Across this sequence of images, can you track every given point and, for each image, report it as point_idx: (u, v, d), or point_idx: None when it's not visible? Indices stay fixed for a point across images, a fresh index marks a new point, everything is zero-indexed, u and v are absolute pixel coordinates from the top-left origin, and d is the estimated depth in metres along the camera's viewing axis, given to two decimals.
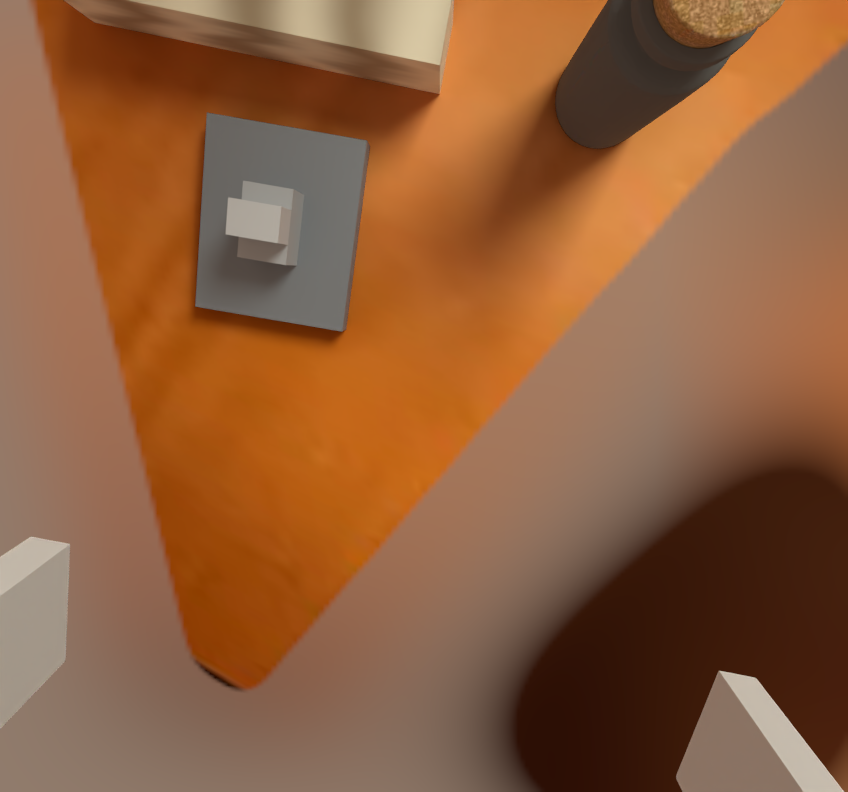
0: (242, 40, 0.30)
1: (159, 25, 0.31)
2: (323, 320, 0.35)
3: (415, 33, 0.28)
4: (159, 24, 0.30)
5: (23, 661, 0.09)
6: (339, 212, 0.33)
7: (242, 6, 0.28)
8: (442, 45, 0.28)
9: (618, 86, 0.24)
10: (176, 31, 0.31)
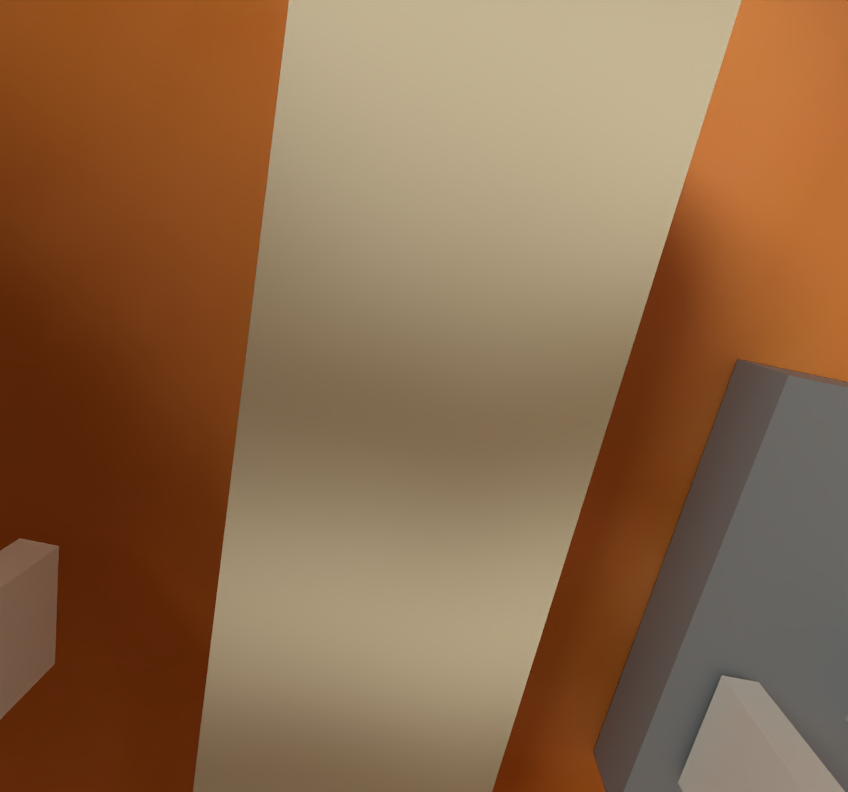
0: None
1: None
2: None
3: (573, 88, 0.05)
4: None
5: (11, 664, 0.09)
6: None
7: None
8: None
9: None
10: None
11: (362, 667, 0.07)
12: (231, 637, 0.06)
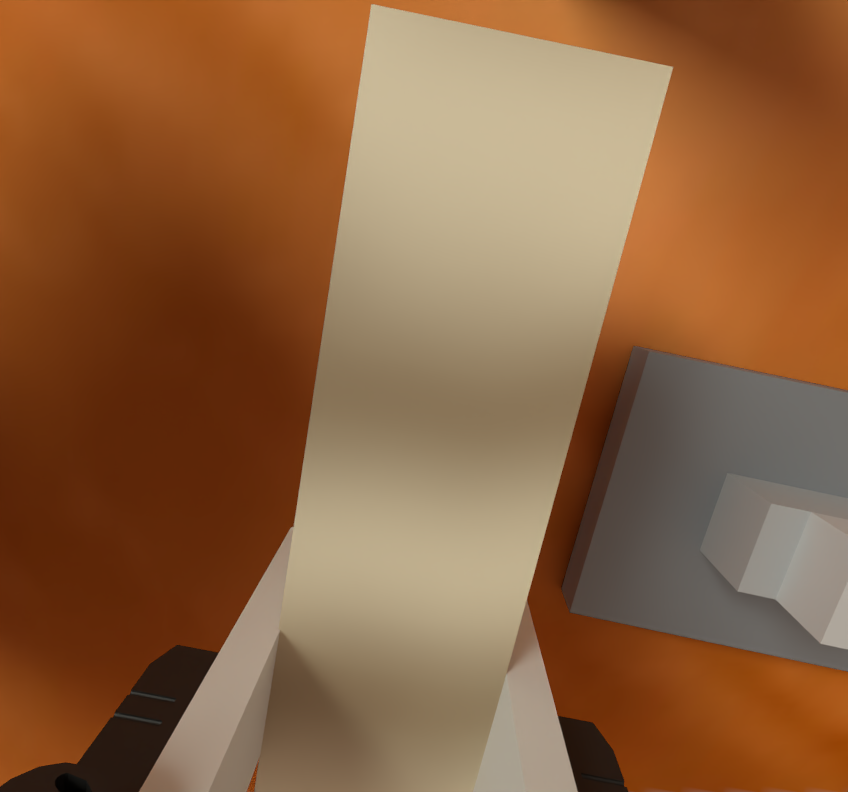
0: None
1: None
2: None
3: (547, 174, 0.07)
4: None
5: None
6: (770, 411, 0.17)
7: (441, 733, 0.09)
8: (599, 56, 0.07)
9: None
10: None
11: (398, 597, 0.09)
12: (301, 573, 0.09)
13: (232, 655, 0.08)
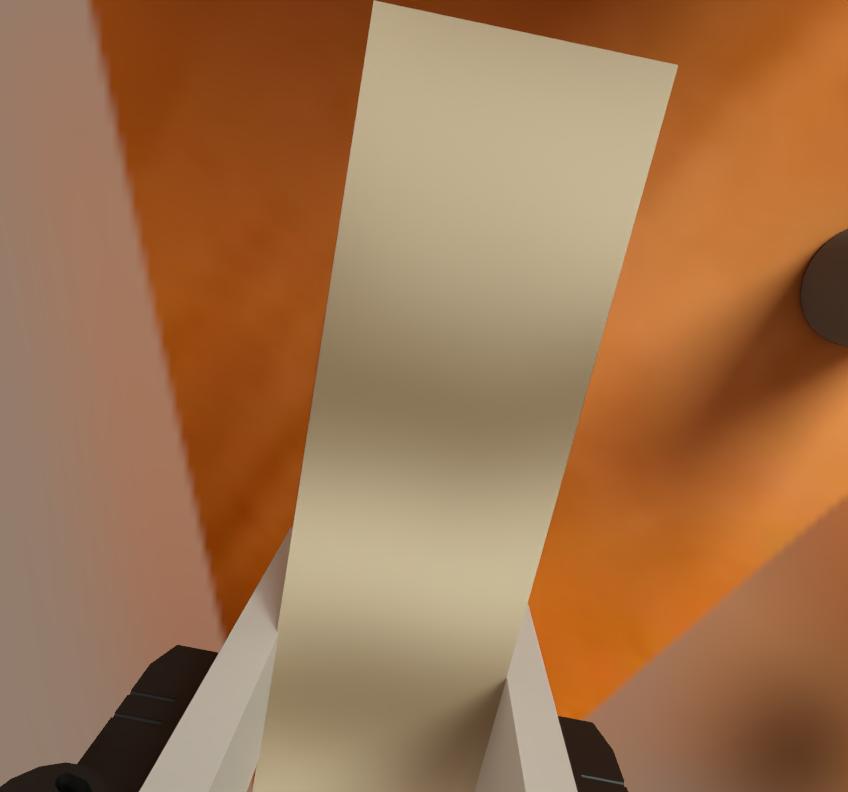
0: None
1: None
2: None
3: (550, 173, 0.07)
4: None
5: None
6: None
7: (441, 735, 0.09)
8: (604, 54, 0.07)
9: None
10: None
11: (398, 599, 0.09)
12: (300, 574, 0.09)
13: (232, 655, 0.08)
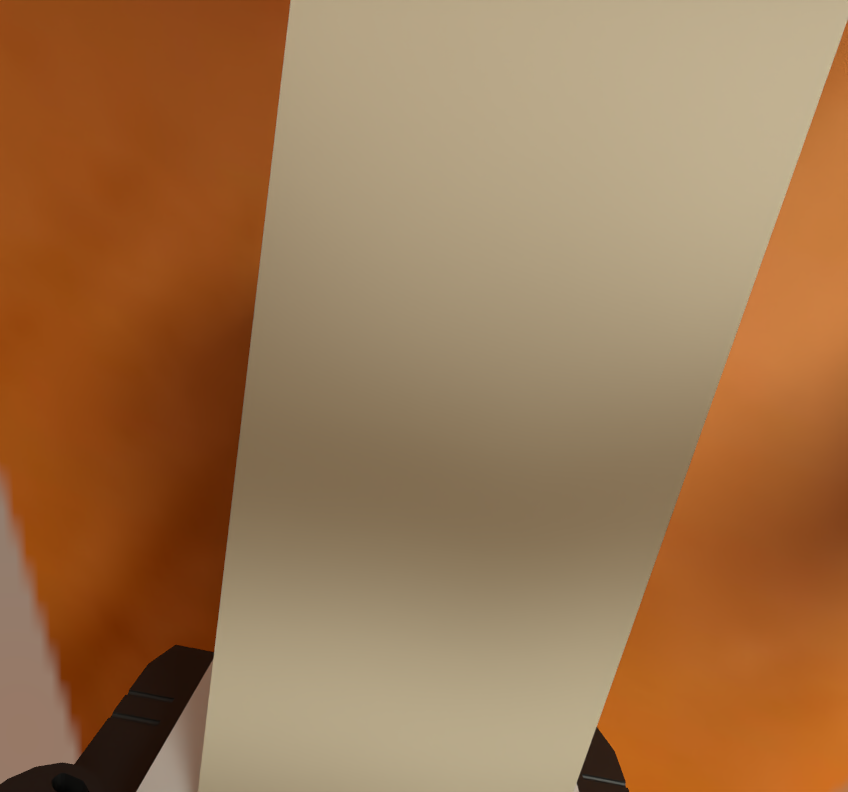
0: None
1: None
2: None
3: (642, 101, 0.04)
4: None
5: None
6: None
7: None
8: None
9: None
10: None
11: (377, 776, 0.06)
12: (226, 741, 0.06)
13: None
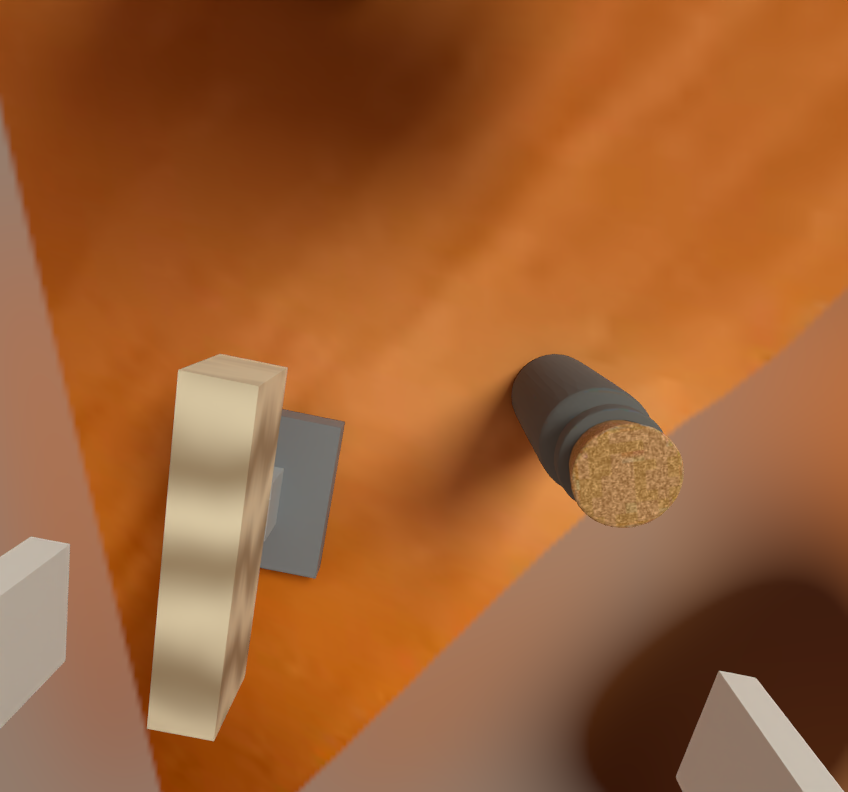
0: (248, 567, 0.31)
1: (241, 635, 0.32)
2: (298, 568, 0.38)
3: (229, 411, 0.26)
4: (240, 636, 0.32)
5: (23, 661, 0.09)
6: (315, 483, 0.37)
7: (219, 576, 0.28)
8: (239, 383, 0.25)
9: None
10: (245, 620, 0.32)
11: (200, 530, 0.27)
12: (169, 523, 0.27)
13: None
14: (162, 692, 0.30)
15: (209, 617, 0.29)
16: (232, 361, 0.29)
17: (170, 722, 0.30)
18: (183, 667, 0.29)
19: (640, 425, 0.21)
